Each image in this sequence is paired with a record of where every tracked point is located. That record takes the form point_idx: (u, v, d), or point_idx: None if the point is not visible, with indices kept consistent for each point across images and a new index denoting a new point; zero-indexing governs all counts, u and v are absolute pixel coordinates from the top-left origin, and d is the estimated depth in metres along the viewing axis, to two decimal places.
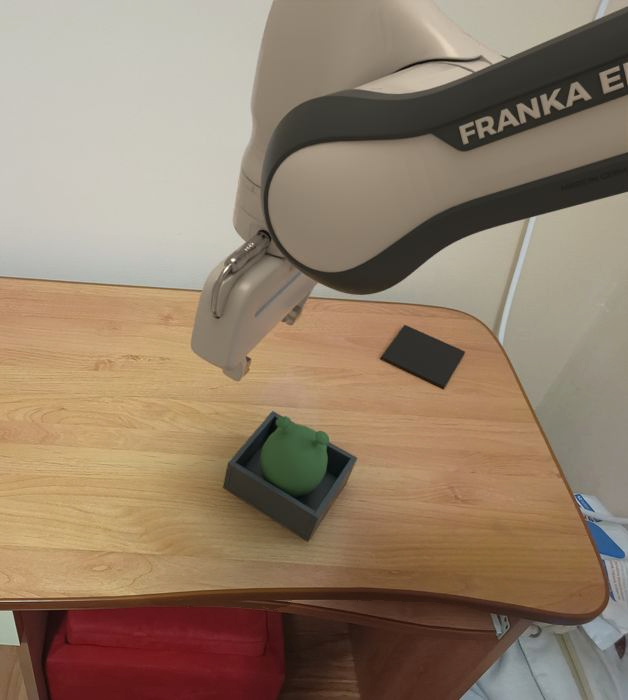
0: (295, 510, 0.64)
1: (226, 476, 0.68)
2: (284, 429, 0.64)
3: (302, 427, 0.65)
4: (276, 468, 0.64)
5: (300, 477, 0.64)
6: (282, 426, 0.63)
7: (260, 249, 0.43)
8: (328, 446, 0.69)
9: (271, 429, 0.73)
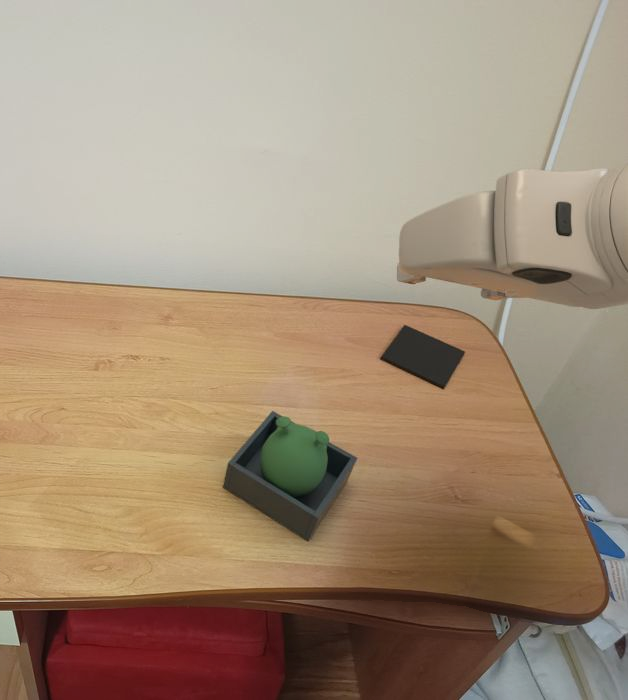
0: (295, 510, 0.64)
1: (226, 476, 0.68)
2: (284, 429, 0.64)
3: (302, 427, 0.65)
4: (276, 468, 0.64)
5: (300, 477, 0.64)
6: (282, 426, 0.63)
7: None
8: (328, 446, 0.69)
9: (271, 429, 0.73)
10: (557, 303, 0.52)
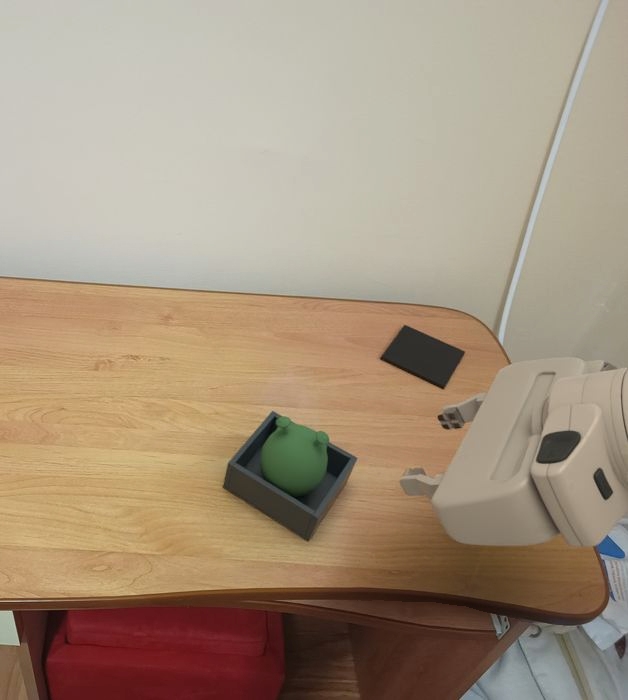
0: (295, 510, 0.64)
1: (226, 476, 0.68)
2: (284, 429, 0.64)
3: (302, 427, 0.65)
4: (276, 468, 0.64)
5: (300, 477, 0.64)
6: (282, 426, 0.63)
7: None
8: (328, 446, 0.69)
9: (271, 429, 0.73)
10: None
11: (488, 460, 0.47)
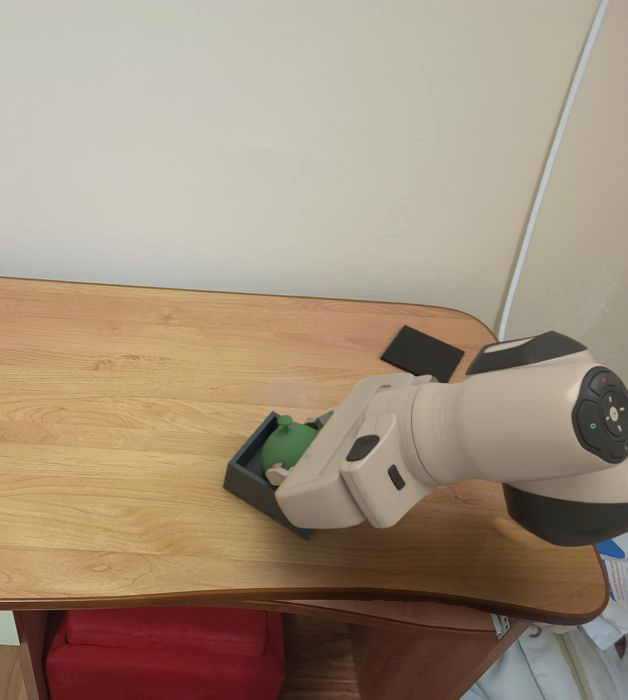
0: None
1: (226, 476, 0.68)
2: (285, 427, 0.64)
3: (303, 426, 0.66)
4: None
5: None
6: (284, 424, 0.64)
7: None
8: None
9: (271, 429, 0.73)
10: None
11: (322, 459, 0.57)
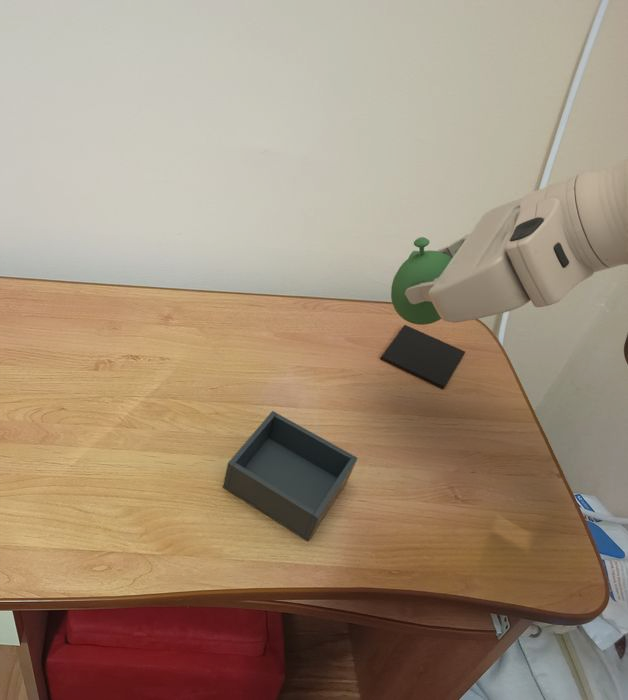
0: (295, 510, 0.64)
1: (226, 476, 0.68)
2: (422, 250, 0.66)
3: (437, 251, 0.67)
4: None
5: None
6: (422, 245, 0.65)
7: None
8: (328, 446, 0.69)
9: (271, 429, 0.73)
10: None
11: (474, 259, 0.59)
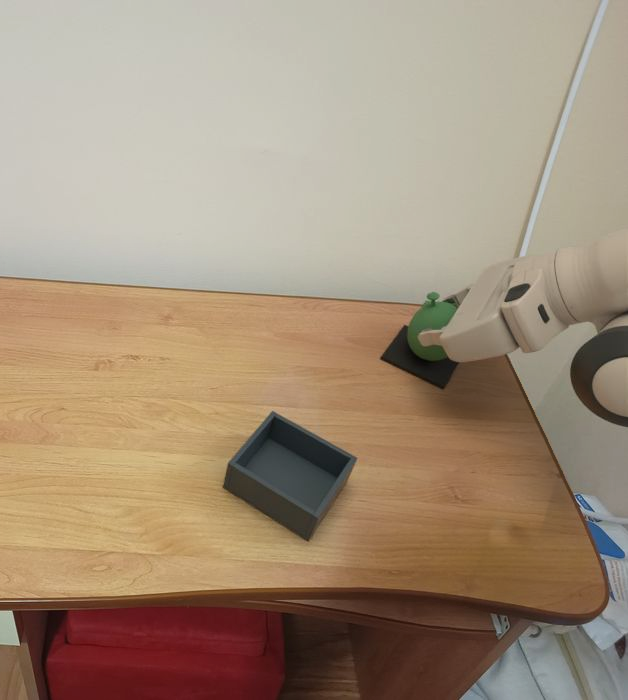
0: (295, 510, 0.64)
1: (226, 476, 0.68)
2: (433, 302, 0.82)
3: (445, 302, 0.83)
4: None
5: None
6: (433, 298, 0.81)
7: None
8: (328, 446, 0.69)
9: (271, 429, 0.73)
10: None
11: (475, 311, 0.75)
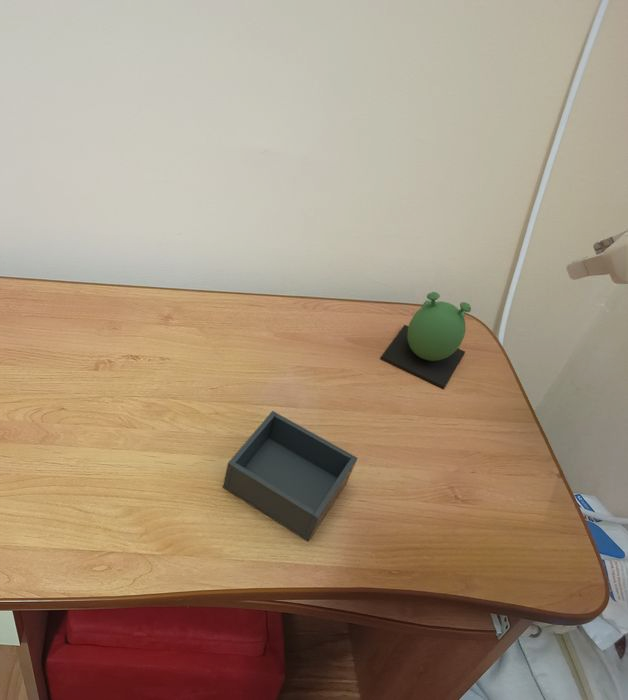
0: (295, 510, 0.64)
1: (226, 476, 0.68)
2: (433, 302, 0.82)
3: (445, 302, 0.83)
4: (427, 332, 0.82)
5: (446, 339, 0.81)
6: (433, 298, 0.81)
7: None
8: (328, 446, 0.69)
9: (271, 429, 0.73)
10: None
11: None
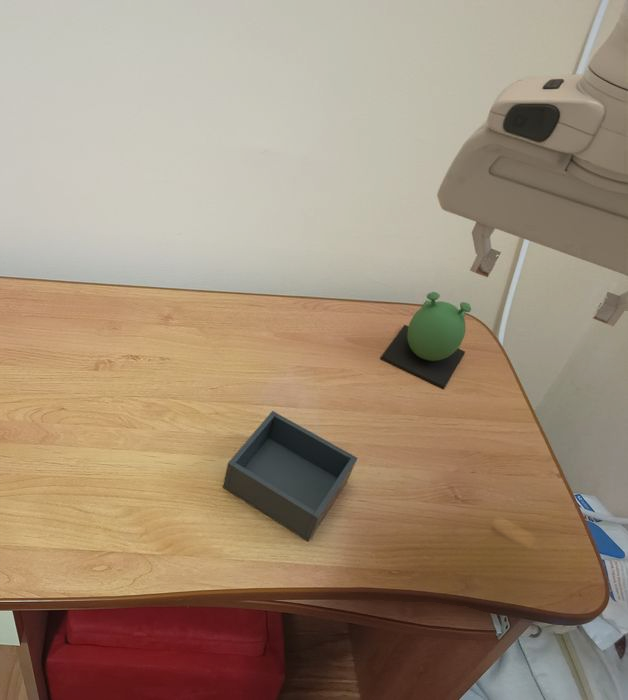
0: (295, 510, 0.64)
1: (226, 476, 0.68)
2: (433, 302, 0.82)
3: (445, 302, 0.83)
4: (427, 332, 0.82)
5: (446, 339, 0.81)
6: (433, 298, 0.81)
7: None
8: (328, 446, 0.69)
9: (271, 429, 0.73)
10: None
11: None
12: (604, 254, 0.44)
